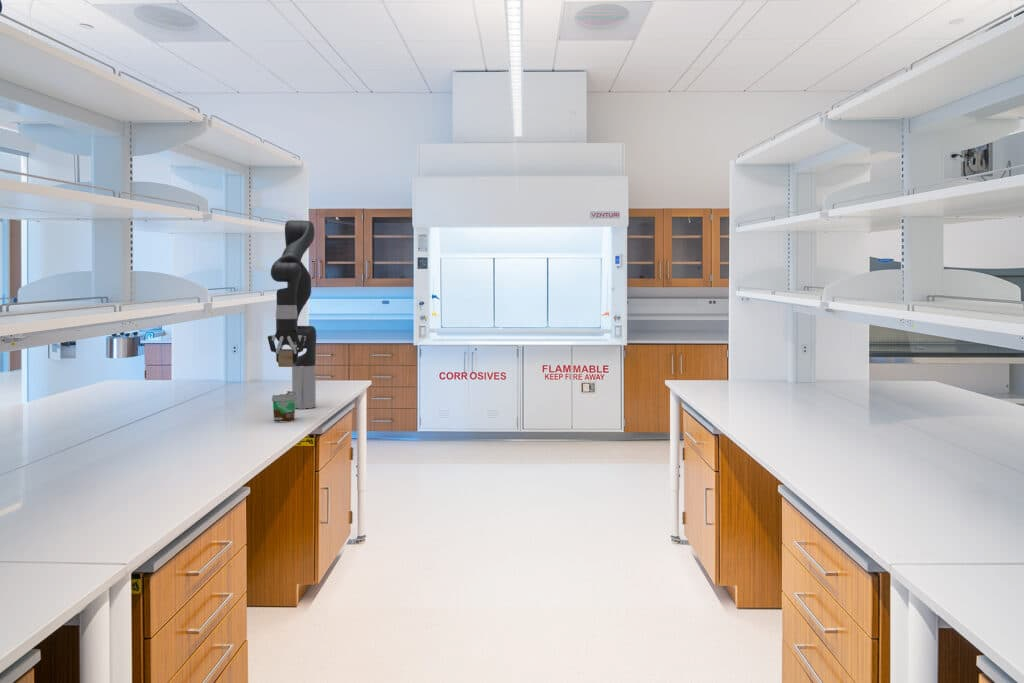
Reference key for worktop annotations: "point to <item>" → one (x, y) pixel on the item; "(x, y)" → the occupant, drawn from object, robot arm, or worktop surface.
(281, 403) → the food container
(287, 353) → the walnut block
